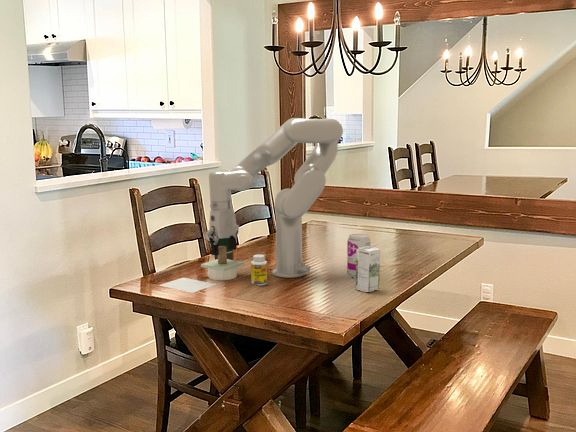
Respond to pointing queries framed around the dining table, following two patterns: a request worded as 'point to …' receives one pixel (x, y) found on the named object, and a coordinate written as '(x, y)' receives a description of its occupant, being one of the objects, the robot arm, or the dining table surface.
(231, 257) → the beer bottle
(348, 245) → the supplement can
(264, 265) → the supplement bottle
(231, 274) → the bowl
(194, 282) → the mat
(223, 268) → the lid
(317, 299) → the dining table surface
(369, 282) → the syrup box
